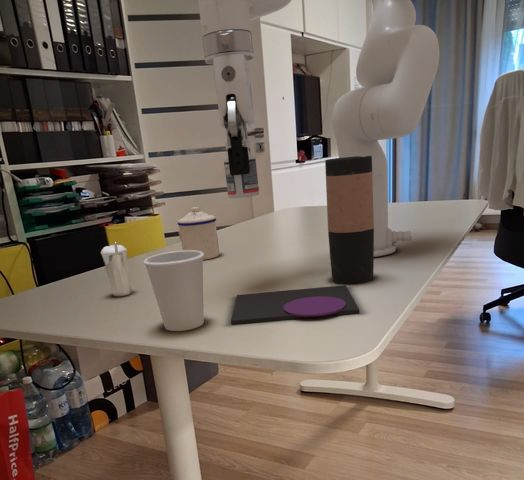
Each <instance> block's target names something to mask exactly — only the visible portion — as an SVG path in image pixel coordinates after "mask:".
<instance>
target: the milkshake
mask: <svg viewBox="0 0 524 480" xmlns="http://www.w3.org/2000/svg"><path fill="white" fill-rule="evenodd" d="M100 255H101V259H102V261H103V264H104V268H105V270H106V274H107V278H108V282H109V284H110V288H111V291H112V296H114V297H125V296H128V295H130V294H132V288H131V287H132V286H131V278H130V271H129V269H130V268H129V261H128V250H127V248H126V247H125V246H124V245H121V244H118V242H117V241H114V242H113V244H110V245H106V246H104V247H103V248H102V249H101V251H100Z"/></svg>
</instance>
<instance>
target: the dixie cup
mask: <svg viewBox="0 0 524 480" xmlns="http://www.w3.org/2000/svg"><path fill="white" fill-rule="evenodd" d="M203 256H204V253H203V252H201V251H196V250H184V251H183V250H175V251H166V252H162V253H157V254H153V255H151V256H148V257H146V258H145V259H144V260H143V264H144V265H145V267H146V271H147V273H148V276H149V281H150V284H151V287H152V290H153V293H154V297H155V299H156V300H155V301H156V304H157V307H158V310H159V313H160V316H161V321H162V322H163V326H164V329H165V330H167V331H171V332H182V331H189V330H190V331H191V330H194V329H196V328H199V327H201V326H202V325H204V323H205V320H204V319H205V318H204V317H205V316H204V315H205V314H204V313H205V311H204V310H205V309H204V264H203V263H204V260H203Z"/></svg>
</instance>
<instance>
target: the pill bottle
mask: <svg viewBox="0 0 524 480" xmlns="http://www.w3.org/2000/svg"><path fill="white" fill-rule="evenodd" d="M224 143H225V144H224V145H225V150H226V152H228V151H227V149H228V143H227V140H226V141H225V142H224ZM245 143H246V147H248V156H249V166H250V173H249V174H242V175H231V174H230V169H229V160H228V154H227V155H226V156H225V157H223V165H224V175H225V182H226V190H227V196H228V197H227V198H228V199H242V198H243V199H244V198H250V197H257V196H258V195H260V186H259V177H258V167H257V159H256V155H255V154H254V153H253V152H251V150H250V151H249V148H250V149H251V142H250V138H248V139H245ZM250 152H251V153H250Z"/></svg>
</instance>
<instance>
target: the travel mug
mask: <svg viewBox="0 0 524 480" xmlns="http://www.w3.org/2000/svg"><path fill="white" fill-rule="evenodd" d="M324 164H325V166H324V167H325V188H326V189H325V191H326V212H327V214H326V215H327V231H328V232H327V235H328V245H329V247H328V248H329V257H330V259H329V260H330V270H331V271H330V272H331V280H332V282H334V283H336V284H342V285H355V284H362V283H367V282H369V281H372V280H373V279H374V265H375V264H374V263H375V260H374V258H375V257H374V213H373V179H372V156H365V157H361V156H354V157H344V158H339V157H335V158H328V159H325V162H324Z"/></svg>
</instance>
